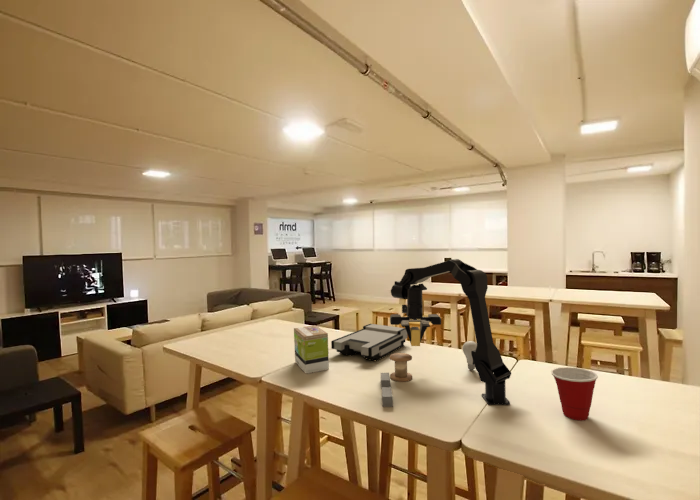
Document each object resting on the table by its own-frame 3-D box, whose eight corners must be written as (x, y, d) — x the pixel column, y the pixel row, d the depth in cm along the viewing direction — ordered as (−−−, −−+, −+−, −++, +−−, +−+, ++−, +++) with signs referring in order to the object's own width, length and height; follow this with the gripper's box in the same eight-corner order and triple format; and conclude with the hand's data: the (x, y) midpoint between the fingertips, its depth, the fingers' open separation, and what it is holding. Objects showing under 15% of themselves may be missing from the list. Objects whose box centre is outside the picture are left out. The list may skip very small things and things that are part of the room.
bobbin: (413, 381, 120) (413, 360, 120) (390, 381, 120) (390, 360, 120) (411, 373, 128) (410, 352, 128) (389, 373, 128) (389, 353, 128)
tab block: (420, 346, 128) (420, 329, 128) (411, 346, 128) (411, 329, 128) (418, 342, 132) (418, 326, 132) (410, 342, 132) (410, 326, 132)
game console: (331, 356, 150) (331, 338, 150) (370, 339, 176) (370, 323, 176) (372, 365, 138) (371, 345, 137) (407, 345, 164) (407, 328, 163)
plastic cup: (554, 402, 102) (554, 362, 102) (599, 413, 95) (599, 370, 95) (548, 417, 93) (547, 373, 93) (596, 430, 87) (596, 383, 86)
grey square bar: (392, 406, 102) (392, 396, 102) (382, 406, 102) (382, 396, 102) (389, 381, 121) (389, 372, 121) (380, 381, 121) (380, 372, 121)
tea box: (294, 362, 143) (293, 327, 143) (316, 358, 147) (316, 324, 147) (305, 374, 129) (303, 335, 129) (329, 369, 133) (328, 332, 133)
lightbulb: (477, 367, 132) (477, 339, 132) (482, 373, 126) (481, 343, 126) (461, 367, 133) (460, 338, 132) (465, 373, 127) (464, 343, 126)
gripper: (435, 297, 137) (436, 336, 138) (388, 297, 138) (389, 335, 139) (441, 302, 126) (441, 344, 127) (390, 302, 127) (391, 344, 128)
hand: (415, 341), depth 130 cm, fingers closed on tab block, 3 cm apart
